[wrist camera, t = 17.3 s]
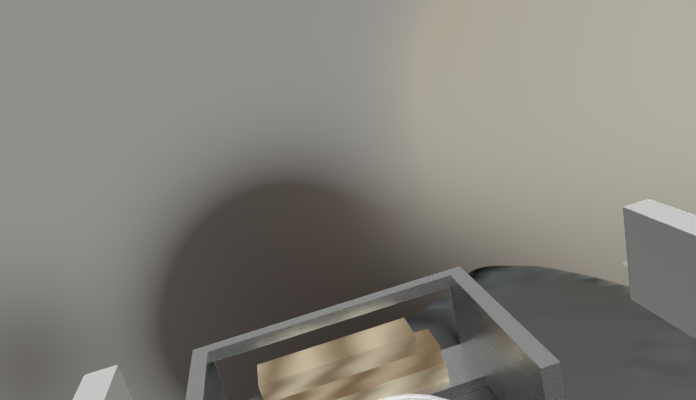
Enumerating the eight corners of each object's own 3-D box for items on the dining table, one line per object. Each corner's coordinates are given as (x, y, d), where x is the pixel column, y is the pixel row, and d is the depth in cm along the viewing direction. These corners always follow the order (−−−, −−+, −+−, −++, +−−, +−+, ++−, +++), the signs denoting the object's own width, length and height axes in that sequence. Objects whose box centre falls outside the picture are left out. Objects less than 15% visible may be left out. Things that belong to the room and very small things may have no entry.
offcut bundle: (269, 441, 50) (250, 388, 48) (267, 417, 53) (250, 367, 51) (449, 380, 52) (438, 327, 50) (436, 360, 55) (425, 310, 54)
